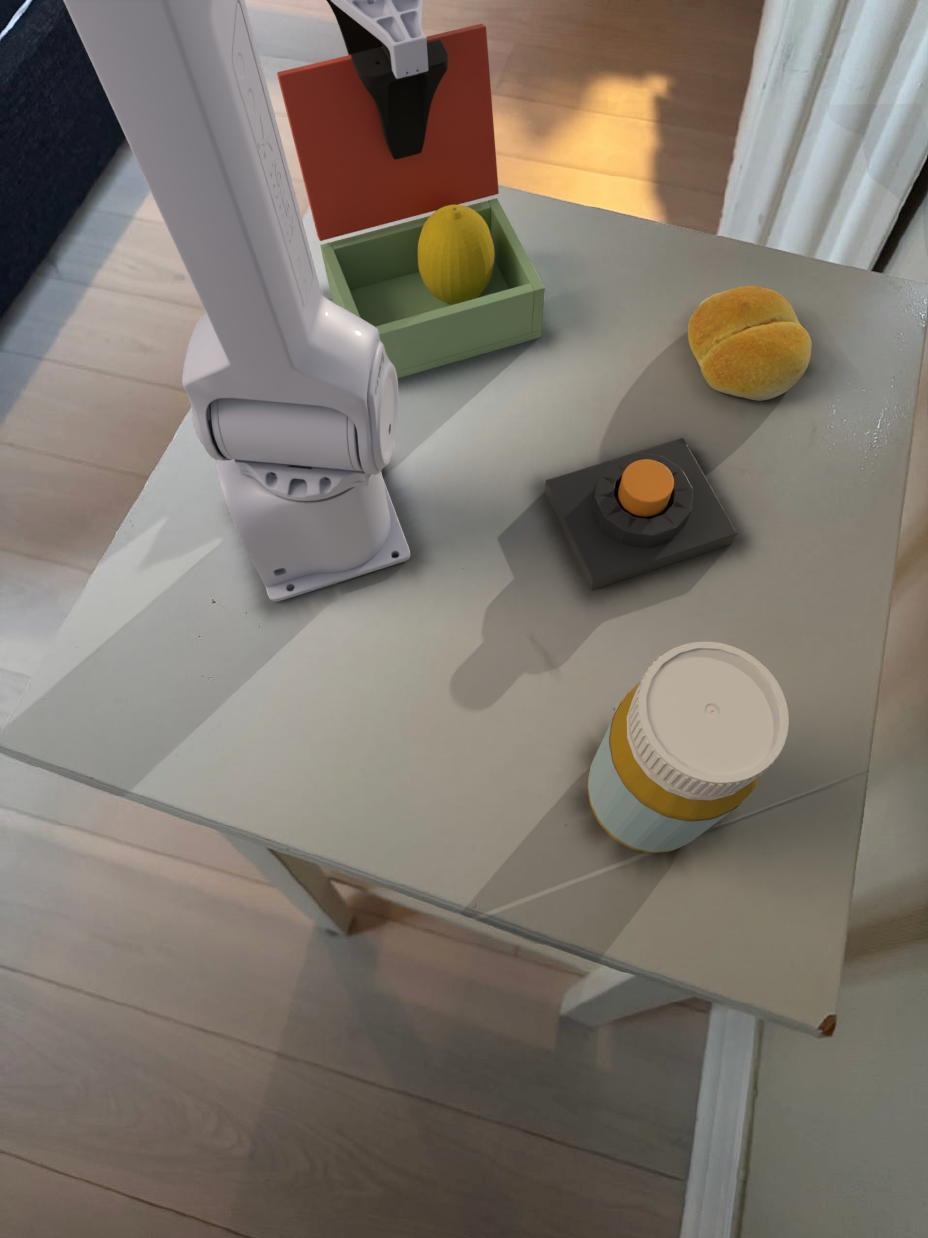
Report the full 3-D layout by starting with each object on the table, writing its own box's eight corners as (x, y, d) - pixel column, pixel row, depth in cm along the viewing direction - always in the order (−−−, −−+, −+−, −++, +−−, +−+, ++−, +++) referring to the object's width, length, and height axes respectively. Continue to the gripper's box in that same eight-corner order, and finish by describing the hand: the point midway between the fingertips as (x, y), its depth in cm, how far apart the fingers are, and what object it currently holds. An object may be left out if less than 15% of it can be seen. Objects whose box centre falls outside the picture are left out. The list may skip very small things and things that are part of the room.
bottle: (622, 876, 46) (681, 823, 32) (565, 762, 48) (597, 668, 35) (731, 824, 47) (834, 752, 33) (670, 715, 49) (742, 607, 36)
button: (630, 523, 52) (635, 508, 50) (609, 483, 53) (613, 467, 52) (677, 508, 52) (683, 493, 51) (655, 468, 54) (660, 452, 52)
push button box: (590, 591, 53) (596, 569, 50) (544, 491, 56) (547, 465, 53) (731, 544, 54) (745, 520, 51) (678, 449, 57) (688, 422, 55)
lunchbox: (541, 337, 62) (545, 287, 57) (366, 388, 60) (357, 340, 56) (496, 250, 66) (497, 197, 61) (331, 295, 64) (319, 244, 60)
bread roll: (717, 417, 58) (732, 378, 55) (671, 324, 62) (683, 282, 58) (825, 391, 59) (848, 351, 55) (774, 301, 63) (792, 258, 59)
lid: (486, 25, 53) (466, 10, 55) (278, 75, 51) (268, 57, 53) (499, 193, 61) (481, 173, 63) (319, 241, 59) (309, 218, 61)
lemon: (494, 326, 62) (495, 237, 55) (420, 327, 62) (411, 238, 55) (493, 272, 64) (495, 179, 57) (422, 272, 64) (414, 180, 57)
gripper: (476, -65, 43) (478, 169, 55) (393, -201, 48) (412, 40, 61) (345, -35, 42) (377, 196, 55) (276, -176, 48) (320, 63, 60)
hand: (389, 116), depth 58 cm, fingers open, 7 cm apart
